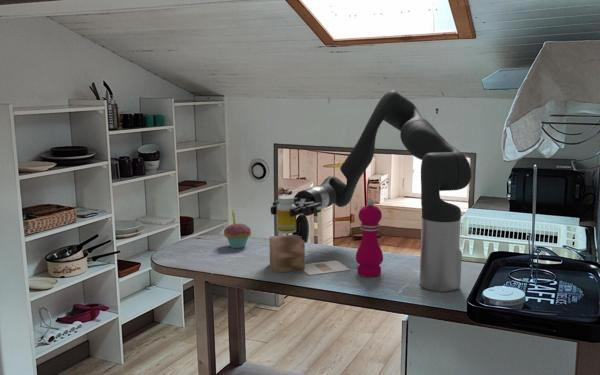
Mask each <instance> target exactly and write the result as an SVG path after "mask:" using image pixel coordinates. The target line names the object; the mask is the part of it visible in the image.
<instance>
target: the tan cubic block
mask: <svg viewBox="0 0 600 375" xmlns="http://www.w3.org/2000/svg"><path fill="white" fill-rule="evenodd" d="M305 242H306V241H305V240H303V238H302V237H300V235H299V234H285V235H284V234H282V235H273V236H270V235H269V265H270V266H271V268H272V269H273V272H275V273H277V274H278V273H286V272H287V273H289V272H298V271H300V272H301V271H303V270H304V269H305V264H306V263H305V262H306V253H305V252H306V250H305V248H306V245H305Z"/></svg>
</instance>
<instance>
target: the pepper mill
mask: <svg viewBox="0 0 600 375" xmlns="http://www.w3.org/2000/svg"><path fill="white" fill-rule="evenodd" d="M374 204H375V203H374V200H372V199H368V200H367V202H366V205H365V206H362V207H361V208H360V210H359V212H358V220H359V221H360V222H361V223H360V224H359V225H360V227H359V229H360V230H361V241H360V244H359V246H358V248H357V249H356V250H357V251H356V253H355V261H356V263H357V264H358V266H357V274H358V275H359V276H361V277H365V278H374V277H375V278H377V277H379V276H381V274H382V267H381V266H380V265H381V264H382V263H383V261H384V255H383V251H382V248H381V245H380V243H379V239H378V231H379V230H380V224H379V222H380V221H381V220H382V216H383V215H382V211H381V209H380V208H379V207H378V206H376V205H374Z"/></svg>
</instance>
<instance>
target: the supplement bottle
mask: <svg viewBox="0 0 600 375" xmlns="http://www.w3.org/2000/svg"><path fill="white" fill-rule="evenodd" d="M294 197H295V196H291V195H282V196H279V197H278V199H279V203H280V204H279V205H278V206H277V214H276V231H277V233H279V234H282V235H284V234H285V235H291V234H293V233H296V232H297V216H294V217H290V209H291V208H294V207H296V206H295V205H294V204H293V202H294Z"/></svg>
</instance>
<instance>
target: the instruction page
mask: <svg viewBox="0 0 600 375" xmlns="http://www.w3.org/2000/svg"><path fill="white" fill-rule="evenodd" d="M302 271H303V272H304V273H305V274H307V275H308V276H316V275H322V274H330V273H331V274H332V273H338V272H345V271H351V269H350V268H348V267H347V266H346V265H344V264H343V263H341V262H340V261H338V260H329V261H328V260H327V261H321V262H320V261H319V262H313V263H305V269H304V270H302Z"/></svg>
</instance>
